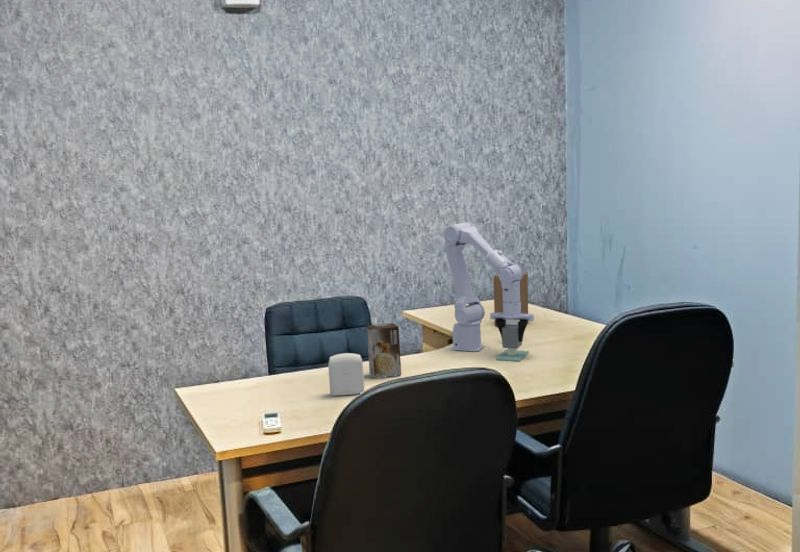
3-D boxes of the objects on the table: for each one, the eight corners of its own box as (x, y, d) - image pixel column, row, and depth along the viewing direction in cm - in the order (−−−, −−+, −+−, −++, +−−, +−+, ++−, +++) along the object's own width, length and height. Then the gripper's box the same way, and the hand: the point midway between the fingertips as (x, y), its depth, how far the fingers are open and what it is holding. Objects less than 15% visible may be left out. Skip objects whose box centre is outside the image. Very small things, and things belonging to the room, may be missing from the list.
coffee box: (396, 371, 304) (394, 322, 301) (401, 376, 298) (399, 326, 295) (368, 374, 302) (366, 325, 299) (373, 379, 296) (371, 329, 293)
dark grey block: (502, 347, 314) (501, 328, 313) (506, 343, 319) (506, 324, 318) (517, 348, 312) (517, 328, 311) (521, 344, 317) (521, 324, 316)
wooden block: (518, 329, 357) (517, 277, 353) (494, 326, 362) (493, 275, 358) (528, 323, 365) (528, 272, 362) (505, 321, 370) (504, 271, 367)
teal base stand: (496, 360, 313) (495, 342, 312) (505, 351, 323) (505, 334, 322) (519, 361, 310) (519, 343, 309) (528, 352, 320) (528, 335, 319)
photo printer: (330, 397, 278) (327, 356, 276) (329, 393, 282) (327, 352, 280) (364, 394, 279) (362, 354, 277) (363, 390, 283) (362, 350, 281)
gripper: (487, 302, 312) (488, 342, 315) (529, 304, 307) (530, 344, 309) (493, 298, 319) (494, 337, 321) (535, 300, 313) (535, 339, 316)
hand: (512, 340), depth 316 cm, fingers closed on dark grey block, 5 cm apart
